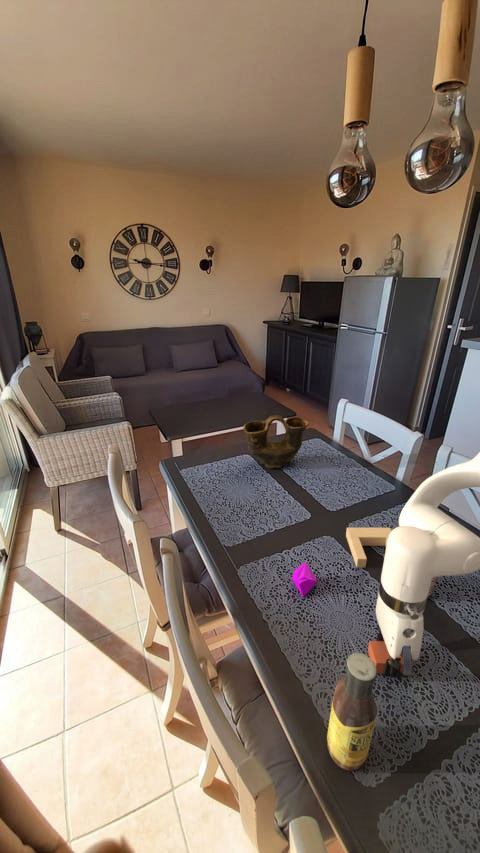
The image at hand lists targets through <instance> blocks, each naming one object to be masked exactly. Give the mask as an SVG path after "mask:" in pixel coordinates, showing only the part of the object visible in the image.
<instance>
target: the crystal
mask: <svg viewBox="0 0 480 853" xmlns="http://www.w3.org/2000/svg"><path fill="white" fill-rule="evenodd" d="M291 580H292V582H293V583H294V585H295V587H296V588H297V589H298V591H299V593H300V595H301V596H302V597H303V598H305V597H306V596H307V594H308V593H309V592H310V591H311V590H312V589H313V588H314V587H315V585H316V584H317V583H318V579H317V578H316V576H315V574H314V572H313V571H312V569H311V568H310V566H309V564H308V563H307V561H305V562H303V563H302V564H301V565H299V566H298V567H297V568H296V569H295V570H294V572H293V575H292V578H291Z"/></svg>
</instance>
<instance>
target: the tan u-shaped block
mask: <svg viewBox="0 0 480 853" xmlns="http://www.w3.org/2000/svg"><path fill="white" fill-rule="evenodd" d="M391 531H392V529H391V527H346V532H345V538H346V540H347V544H348V546H349V549H350V552H351V555H352V558H353V562H354V565H355V568H357V569H361V568H362V569H366V567H367V561H368V559H367V558H368V557H367V556H366V553H365V550H364V548H363V546H367V547H370V546H371V547H373V546H374V547H385V548H386V546H387V540H388V536H389V534H390V532H391Z"/></svg>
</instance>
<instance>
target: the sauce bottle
mask: <svg viewBox="0 0 480 853" xmlns="http://www.w3.org/2000/svg"><path fill="white" fill-rule="evenodd" d="M377 674H378V673H377V669H376V666H375V664H374V662H373V661H372V660H371V659H370V656H369V655H367V654H364V653H361V652H354V653H351V654H350V655H349V656H348V657H347V658H346V664H345V675H344V677H342V678H340V679H339V680H338V681H337V683H336V686H335V688H334V694H333V696H332V702H331V708H330V714H329V720H328V728H327V734H326V741H327V743H326V745H327V750H328V753H329V755H330V757H331V759H332V760H333V762H334V763H335V764H336V766H338V767H339V768H341V769H343V770H345V771H349V772H350V771H355V770H359V769H360V768H361V767H362V766H363V764H364V763H365V761H366V760H367V757H368V754H369V751H370V750H369V749H370V746H371V741H372V738H373V732H374V729H375V724H376V720H377V714H378V707H377V704H376V700H375V697H374V693H373V692H374V691H373V686H374V684H375V682H376V679H377Z"/></svg>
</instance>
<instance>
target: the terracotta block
mask: <svg viewBox="0 0 480 853" xmlns="http://www.w3.org/2000/svg"><path fill="white" fill-rule="evenodd" d="M367 653H368V657H369V658H370V659H371V660H372V661H373V662H374V664H375V666H376V669H377V673H376V674H384V668H385V664H386V659H389V652H388V649H387V647H386V644H385V641H376V640H369V642H368V648H367ZM396 658H401V655H399V656H398V657H396Z"/></svg>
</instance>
